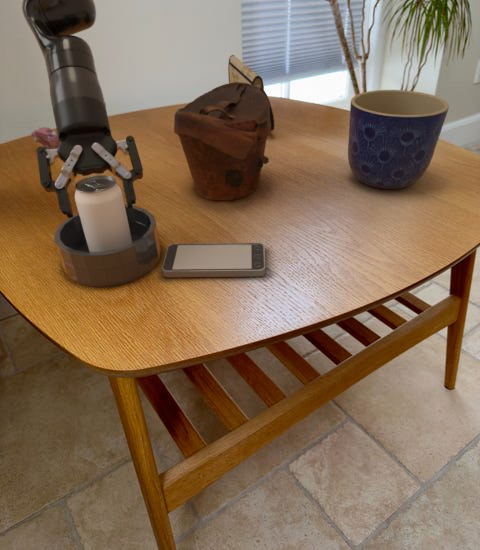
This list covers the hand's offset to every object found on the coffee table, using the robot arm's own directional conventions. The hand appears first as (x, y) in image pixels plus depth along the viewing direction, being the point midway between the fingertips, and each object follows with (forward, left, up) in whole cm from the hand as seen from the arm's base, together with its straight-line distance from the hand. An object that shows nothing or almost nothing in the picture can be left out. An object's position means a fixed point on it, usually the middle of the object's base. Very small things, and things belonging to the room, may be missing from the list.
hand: (100, 211), depth 63 cm
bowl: (0, 0, -8) cm, 8 cm away
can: (0, 0, -8) cm, 8 cm away
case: (+17, +24, -8) cm, 31 cm away
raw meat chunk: (-25, +47, -8) cm, 54 cm away
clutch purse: (+23, +64, -8) cm, 69 cm away
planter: (+49, +26, -8) cm, 56 cm away
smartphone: (+16, -2, -8) cm, 18 cm away
